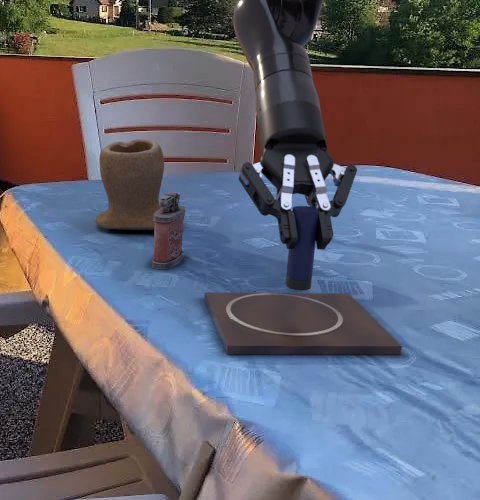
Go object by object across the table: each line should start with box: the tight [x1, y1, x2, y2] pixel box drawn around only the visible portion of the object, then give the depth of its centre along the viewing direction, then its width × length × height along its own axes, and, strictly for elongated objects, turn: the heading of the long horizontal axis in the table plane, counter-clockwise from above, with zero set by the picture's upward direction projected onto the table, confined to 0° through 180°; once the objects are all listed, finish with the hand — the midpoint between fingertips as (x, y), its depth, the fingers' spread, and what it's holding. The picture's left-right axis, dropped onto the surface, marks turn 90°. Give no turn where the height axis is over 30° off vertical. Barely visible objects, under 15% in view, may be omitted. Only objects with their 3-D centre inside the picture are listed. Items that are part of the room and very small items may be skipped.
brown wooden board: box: [203, 291, 403, 356], centre depth 80 cm, size 18×16×1 cm
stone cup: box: [95, 138, 186, 231], centre depth 117 cm, size 15×12×15 cm
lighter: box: [151, 191, 186, 270], centre depth 101 cm, size 8×3×10 cm, turn 159°
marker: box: [284, 205, 319, 292], centre depth 78 cm, size 3×3×9 cm
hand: (308, 245), depth 76 cm, fingers closed on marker, 2 cm apart
